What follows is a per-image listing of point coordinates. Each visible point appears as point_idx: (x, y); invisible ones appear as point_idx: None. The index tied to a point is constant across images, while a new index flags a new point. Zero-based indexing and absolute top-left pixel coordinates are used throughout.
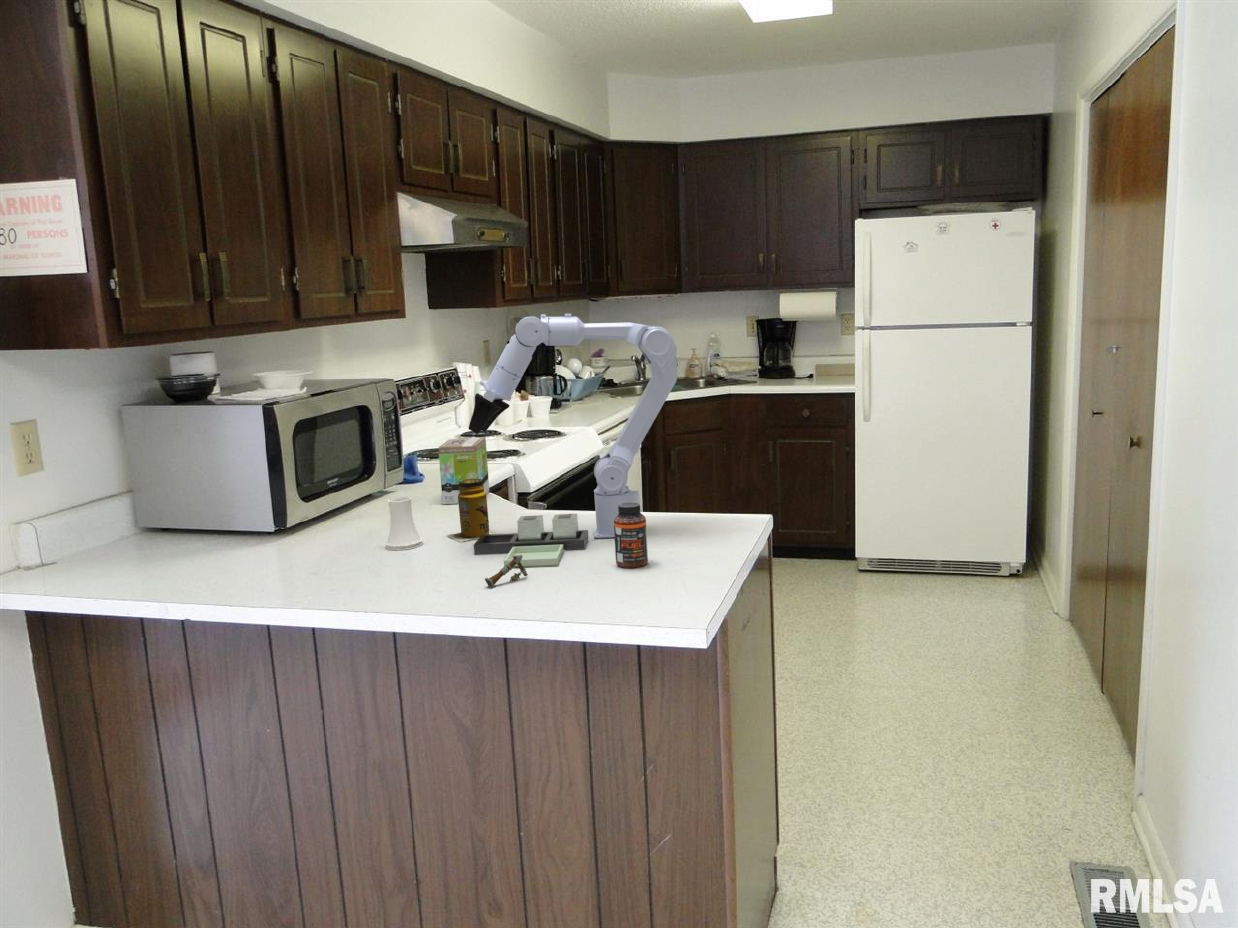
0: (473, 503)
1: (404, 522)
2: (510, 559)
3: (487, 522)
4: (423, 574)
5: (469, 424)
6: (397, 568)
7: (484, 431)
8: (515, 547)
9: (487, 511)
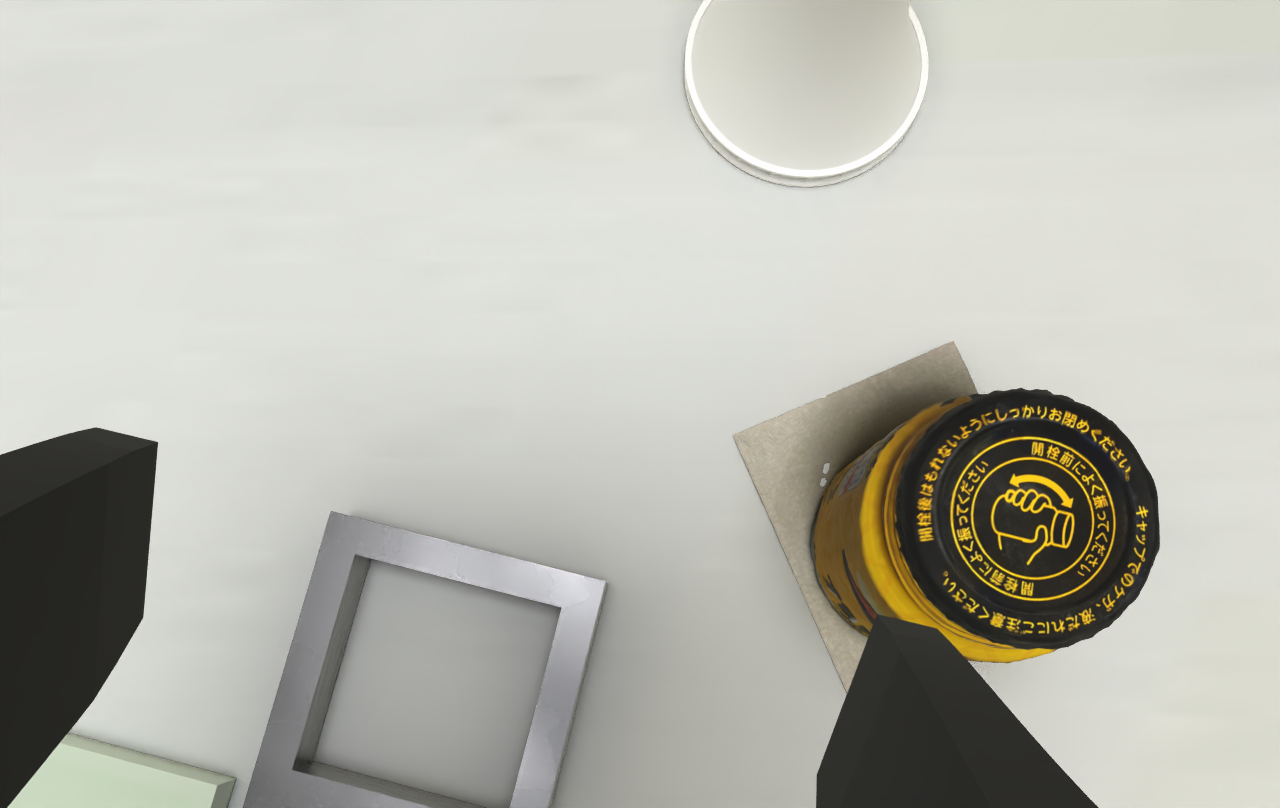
0: (849, 533)
1: (746, 8)
2: None
3: None
4: (30, 203)
5: (39, 443)
6: (242, 54)
7: (818, 775)
8: (194, 802)
9: None
